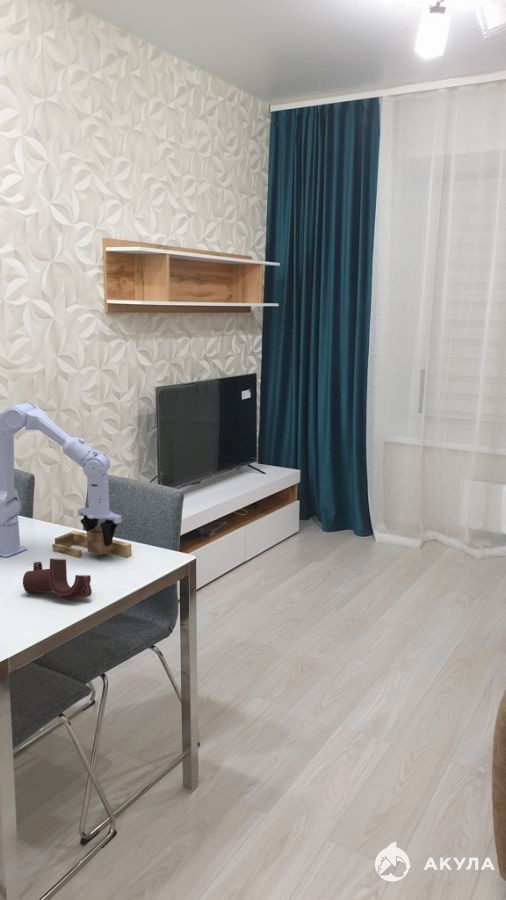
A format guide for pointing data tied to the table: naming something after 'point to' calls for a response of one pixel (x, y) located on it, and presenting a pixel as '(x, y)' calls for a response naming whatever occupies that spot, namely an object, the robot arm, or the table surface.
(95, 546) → the cabinet
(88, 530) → the robot arm
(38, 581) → the bracket
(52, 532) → the table surface
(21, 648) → the table surface
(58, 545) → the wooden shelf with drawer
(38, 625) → the table surface
